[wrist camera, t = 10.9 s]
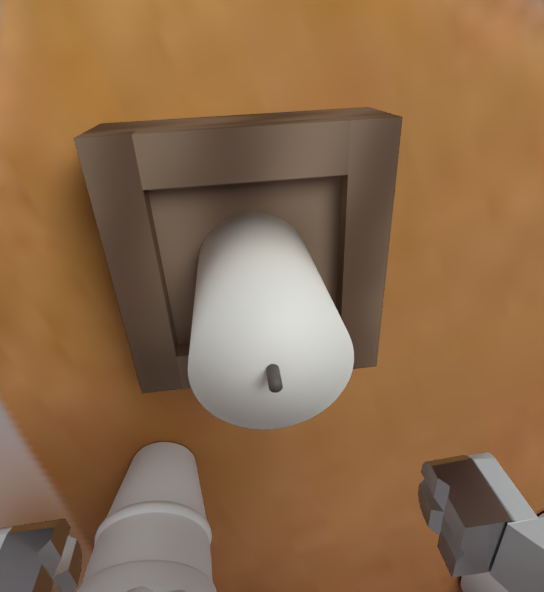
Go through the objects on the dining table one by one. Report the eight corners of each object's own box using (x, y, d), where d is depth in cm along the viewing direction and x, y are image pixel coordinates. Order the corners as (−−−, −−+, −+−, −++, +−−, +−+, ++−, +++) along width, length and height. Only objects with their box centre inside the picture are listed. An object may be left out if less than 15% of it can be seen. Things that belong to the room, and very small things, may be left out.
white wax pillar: (307, 207, 18) (367, 302, 11) (307, 306, 20) (357, 438, 13) (190, 217, 17) (171, 322, 10) (205, 316, 20) (198, 458, 13)
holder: (368, 107, 19) (402, 117, 16) (354, 324, 25) (376, 366, 22) (100, 123, 18) (73, 138, 15) (152, 345, 24) (142, 393, 21)
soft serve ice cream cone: (148, 399, 26) (71, 785, 12) (248, 450, 29) (279, 797, 16) (78, 473, 28) (-52, 864, 15) (178, 513, 32) (150, 860, 18)
